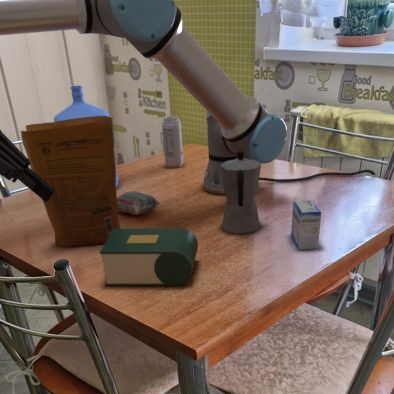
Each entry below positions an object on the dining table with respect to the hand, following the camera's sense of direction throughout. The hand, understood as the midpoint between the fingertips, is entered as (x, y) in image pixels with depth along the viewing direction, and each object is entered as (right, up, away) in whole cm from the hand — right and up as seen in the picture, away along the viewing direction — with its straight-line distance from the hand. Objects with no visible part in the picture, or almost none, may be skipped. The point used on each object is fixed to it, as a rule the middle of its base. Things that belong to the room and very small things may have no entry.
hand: (51, 196), depth 102 cm
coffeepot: (+39, -1, +25) cm, 46 cm away
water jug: (-3, +19, +57) cm, 60 cm away
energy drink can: (+21, +31, +71) cm, 81 cm away
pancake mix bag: (+3, -5, +23) cm, 23 cm away
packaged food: (+12, +7, +37) cm, 40 cm away
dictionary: (+20, -14, +8) cm, 25 cm away
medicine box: (+53, -6, +16) cm, 56 cm away
